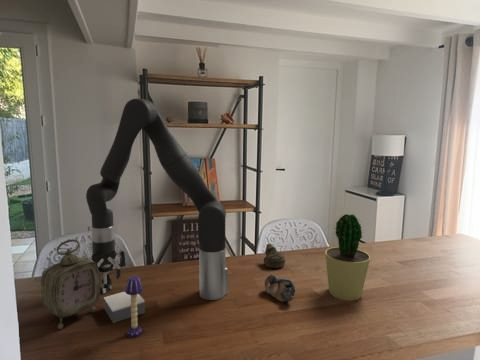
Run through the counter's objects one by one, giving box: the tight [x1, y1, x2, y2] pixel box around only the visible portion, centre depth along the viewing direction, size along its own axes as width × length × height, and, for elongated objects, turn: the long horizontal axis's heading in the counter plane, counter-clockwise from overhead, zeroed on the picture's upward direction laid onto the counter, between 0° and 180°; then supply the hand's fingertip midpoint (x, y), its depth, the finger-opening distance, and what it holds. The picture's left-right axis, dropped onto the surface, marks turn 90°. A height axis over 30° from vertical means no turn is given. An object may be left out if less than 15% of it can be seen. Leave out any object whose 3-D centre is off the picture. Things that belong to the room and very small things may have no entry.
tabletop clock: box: [40, 239, 102, 330], centre depth 100 cm, size 14×9×25 cm, turn 148°
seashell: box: [263, 243, 286, 269], centre depth 143 cm, size 11×12×10 cm
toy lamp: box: [124, 275, 144, 338], centre depth 93 cm, size 5×5×17 cm
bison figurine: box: [264, 274, 296, 303], centre depth 115 cm, size 12×7×10 cm
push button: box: [99, 263, 115, 294], centre depth 119 cm, size 7×5×10 cm
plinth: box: [103, 291, 146, 324], centre depth 106 cm, size 10×10×4 cm
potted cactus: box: [324, 213, 371, 302], centre depth 118 cm, size 15×15×30 cm
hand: (105, 281), depth 119 cm, fingers open, 8 cm apart
